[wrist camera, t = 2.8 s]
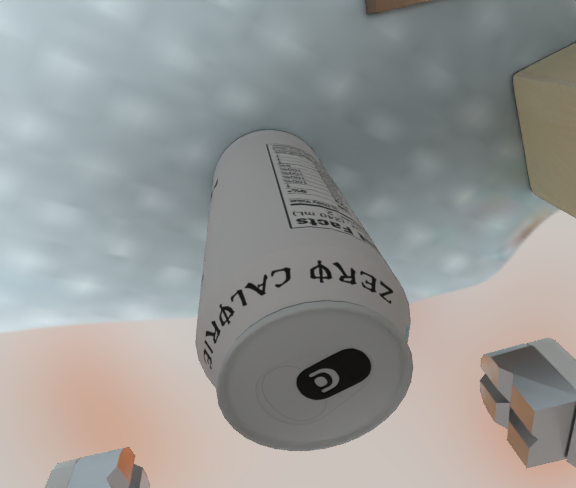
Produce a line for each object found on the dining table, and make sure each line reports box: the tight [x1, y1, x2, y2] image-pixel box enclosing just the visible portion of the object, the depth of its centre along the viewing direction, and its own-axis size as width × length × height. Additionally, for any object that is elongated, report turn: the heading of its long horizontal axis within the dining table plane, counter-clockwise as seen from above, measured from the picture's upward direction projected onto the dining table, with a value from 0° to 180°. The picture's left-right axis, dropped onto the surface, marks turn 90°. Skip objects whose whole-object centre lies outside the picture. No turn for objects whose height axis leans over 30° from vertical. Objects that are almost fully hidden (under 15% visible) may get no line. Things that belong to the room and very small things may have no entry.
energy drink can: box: [196, 130, 413, 451], centre depth 16 cm, size 6×6×15 cm
